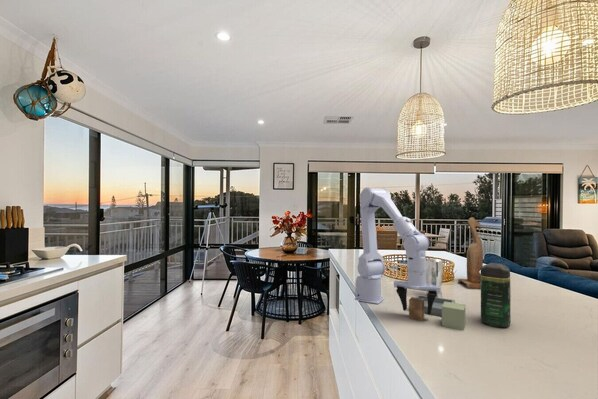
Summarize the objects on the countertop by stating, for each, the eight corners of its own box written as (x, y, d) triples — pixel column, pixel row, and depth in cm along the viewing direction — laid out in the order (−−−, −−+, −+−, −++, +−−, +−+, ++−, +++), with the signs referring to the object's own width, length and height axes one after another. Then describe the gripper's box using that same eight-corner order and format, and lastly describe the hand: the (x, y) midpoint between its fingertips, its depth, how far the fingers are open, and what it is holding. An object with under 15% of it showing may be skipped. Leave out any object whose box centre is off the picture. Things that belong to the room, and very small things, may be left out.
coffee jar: (509, 330, 90) (508, 267, 90) (478, 324, 95) (477, 264, 95) (512, 321, 97) (511, 263, 98) (483, 315, 102) (483, 260, 103)
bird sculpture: (494, 290, 134) (495, 218, 135) (467, 289, 135) (468, 217, 135) (481, 284, 145) (481, 217, 146) (455, 283, 146) (456, 216, 147)
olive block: (442, 326, 93) (441, 306, 94) (444, 319, 98) (444, 301, 99) (464, 330, 90) (463, 310, 90) (465, 323, 95) (465, 304, 95)
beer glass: (445, 299, 119) (445, 261, 119) (426, 298, 121) (426, 261, 121) (441, 294, 126) (440, 258, 126) (423, 293, 127) (422, 258, 128)
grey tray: (409, 310, 107) (409, 303, 107) (417, 301, 118) (417, 294, 118) (450, 318, 100) (450, 310, 100) (454, 307, 111) (454, 300, 111)
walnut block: (409, 318, 100) (409, 300, 100) (411, 314, 103) (411, 297, 103) (422, 320, 97) (421, 302, 98) (424, 317, 101) (424, 298, 101)
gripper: (391, 270, 101) (391, 311, 101) (438, 275, 93) (438, 320, 93) (396, 266, 107) (397, 305, 107) (441, 271, 99) (442, 313, 99)
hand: (416, 311), depth 100 cm, fingers open, 7 cm apart
